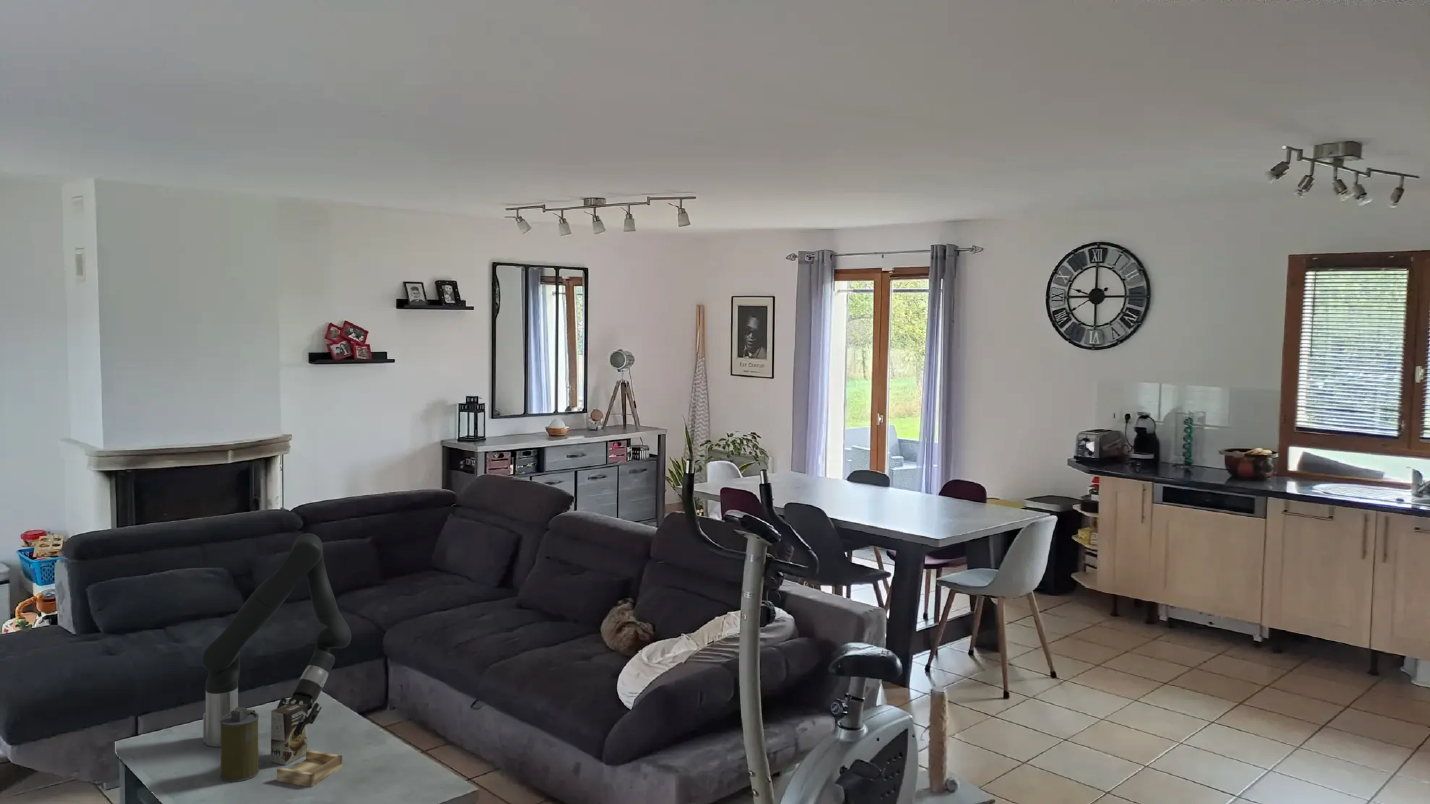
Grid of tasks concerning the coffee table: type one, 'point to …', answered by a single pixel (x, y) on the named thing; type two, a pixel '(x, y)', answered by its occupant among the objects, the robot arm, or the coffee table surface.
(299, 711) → the coffee box
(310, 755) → the oak cradle
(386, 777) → the coffee table surface
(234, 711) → the canister
